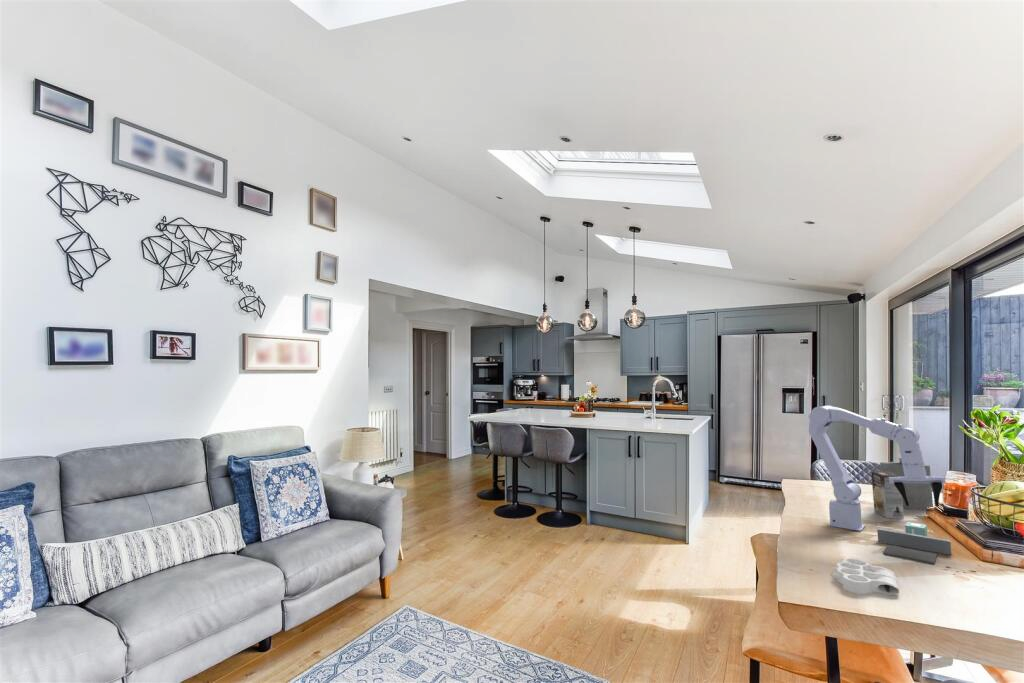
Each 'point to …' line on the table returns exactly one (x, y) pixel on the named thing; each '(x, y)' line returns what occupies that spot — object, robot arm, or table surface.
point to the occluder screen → (914, 541)
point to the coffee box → (886, 495)
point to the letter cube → (916, 528)
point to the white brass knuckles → (865, 577)
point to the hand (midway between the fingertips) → (922, 505)
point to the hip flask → (912, 487)
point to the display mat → (910, 554)
